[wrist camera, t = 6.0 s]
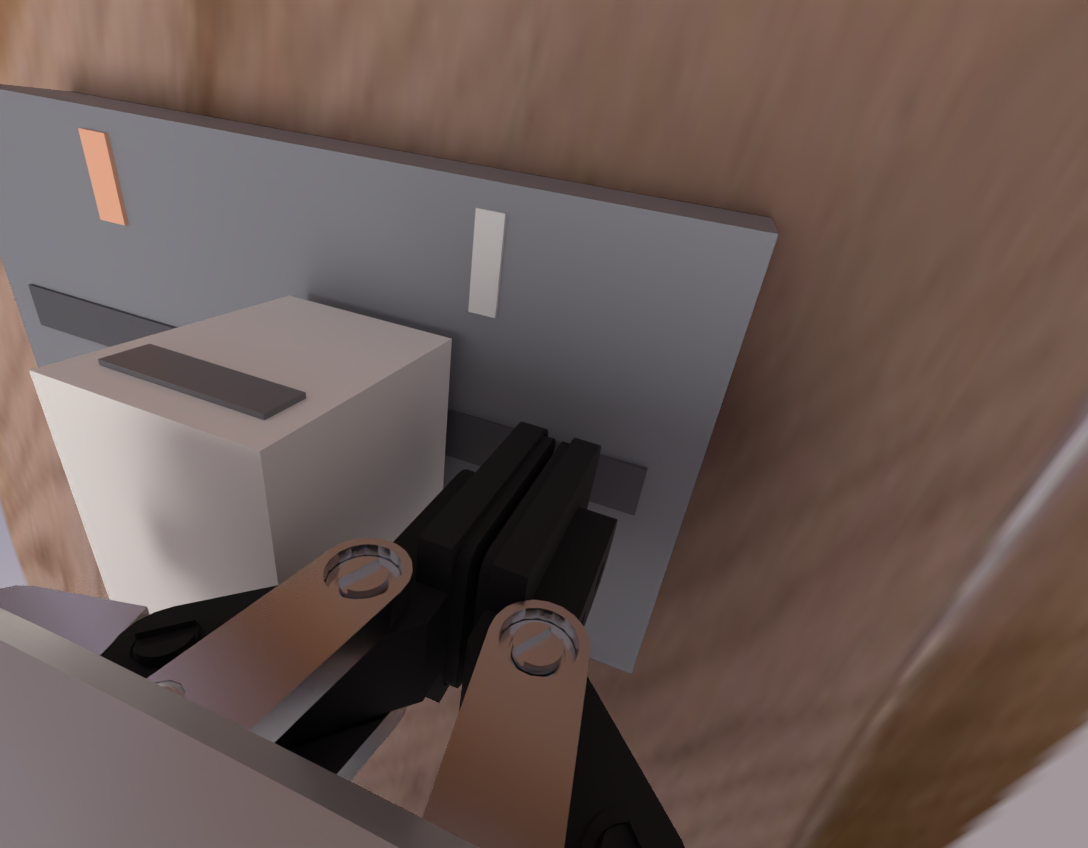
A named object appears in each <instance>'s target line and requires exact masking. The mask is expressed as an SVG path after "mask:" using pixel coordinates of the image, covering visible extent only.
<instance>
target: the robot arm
mask: <svg viewBox="0 0 1088 848" xmlns="http://www.w3.org/2000/svg"><path fill="white" fill-rule="evenodd" d="M555 443H556V440H555V439H554V438H551V437H548V429H545V428H542V427H539V426H535V425H532V424H529V423H525V422H520V423H519V424H518V425H517V426H516V427H515V429H514V430H513V431H512V432H511V433H510V434H509V435H508V436H507V438H506V439H505V440H504V441H503V442H502V443H501V444H500V445H499V446H498V448H497V449H496V450H495V451H494V452H493V453H492V454H491V455H490V457H489V458H488V459H487V460H486V461H485V462H484V463H483V464H482V466H481V467H480V468H479V469H478V470H477V471H476V472H474V471H471V470H468V469H464V470H462V471H460V472H459V473H458V474H457V475H456V476H455V477H454V478H453V479H452V480H451V481H450V482H449V483H448V484H447V486H446V487H445V488H444V489H443V490H442V491H441V492H440V493H439V494H438V495H437V496H436V497H435V498H434V499H433V500H432V501H431V502H430V503H429V505H428V506H427V507H426V508H425V509H424V510H423V511H422V512H421V513H420V514H419V515H418V516H417V517H416V518H415V519H414V520H413V521H412V523H411V524H410V525H409V526H408V527H407V528H406V529H405V530H404V531H403V532H402V533H401V534H400V535H399V536H398V537H397V538H396V539H395V540H394V542H390V541H388V540H385V539H378V538H359V539H353V540H350V541H346V542H343V543H340V544H339V545H337V546H335V547H333V548H331V549H329V550H328V551H326V552H325V553H323V554H322V555H321V556H319V557H318V558H316V559H315V560H314V561H312V562H311V563H309V564H308V565H306V566H305V567H304V568H302V569H301V570H299V571H298V572H297V573H295V574H294V575H292V576H291V577H289V578H288V579H287V580H285V581H284V582H282V583H281V584H280V585H276V586H271V587H266V588H261V589H257V590H252V591H247V592H242V593H237V594H232V595H227V596H222V597H217V598H213V599H208V600H203V601H198V602H193V603H188V604H183V605H178V606H173V607H170V608H167V609H163V610H160V611H157V612H154V613H152V614H149V611H148V607H146V606H141V605H135V604H130V603H124V602H119V601H113V600H108V599H102V598H97V597H91V596H86V595H80V594H75V593H69V592H64V591H58V590H53V589H47V588H42V587H36V586H12V587H6V588H1V589H0V848H685V847H684V845H683V842H682V840H681V838H680V836H679V835H678V833H677V831H676V829H675V828H674V826H673V824H672V823H671V821H670V819H669V817H668V816H667V814H666V812H665V810H664V809H663V807H662V805H661V803H660V802H659V800H658V798H657V796H656V795H655V793H654V791H653V790H652V788H651V786H650V784H649V783H648V781H647V779H646V777H645V776H644V774H643V772H642V770H641V769H640V767H639V765H638V763H637V762H636V760H635V758H634V757H633V755H632V753H631V751H630V750H629V748H628V746H627V744H626V743H625V741H624V739H623V737H622V736H621V734H620V732H619V730H618V729H617V727H616V725H615V723H614V722H613V720H612V718H611V717H610V715H609V713H608V711H607V710H606V708H605V706H604V704H603V703H602V701H601V699H600V697H599V696H598V694H597V692H596V690H595V689H594V687H593V685H592V684H591V682H590V680H589V678H588V677H587V674H588V666H589V659H590V640H589V637H588V635H587V633H586V630H585V628H584V626H585V623H586V621H587V618H588V615H589V612H590V610H591V607H592V604H593V601H594V598H595V596H596V593H597V590H598V587H599V584H600V581H601V578H602V575H603V572H604V569H605V565H606V562H607V559H608V555H609V552H610V548H611V544H612V541H613V537H614V533H615V530H616V526H617V521H618V520H617V519H615V518H612V517H609V516H606V515H603V514H600V513H597V512H594V511H591V510H588V509H587V507H588V503H589V499H590V495H591V490H592V486H593V482H594V477H595V473H596V469H597V464H598V460H599V456H600V451H601V445H598V444H595V443H592V442H588V441H585V440H582V439H578V438H573V440H572V441H571V443H567V442H564V441H562V442H561V443H560V445H559V446H558V448H557V449H556V451H555V452H554V450H555ZM461 684H462V691H461V700H460V709H459V714H458V717H457V720H456V723H455V726H454V728H453V731H452V734H451V737H450V740H449V743H448V745H447V748H446V751H445V754H444V757H443V760H442V762H441V765H440V768H439V771H438V774H437V777H436V779H435V782H434V785H433V788H432V791H431V794H430V796H429V799H428V802H427V805H426V808H425V811H424V813H423V816H422V818H421V817H419V816H417V815H415V814H413V813H411V812H409V811H407V810H405V809H403V808H401V807H399V806H397V805H395V804H393V803H391V802H389V801H387V800H385V799H384V798H382V797H380V796H378V795H376V794H374V793H372V792H370V791H368V790H366V789H364V788H362V787H360V786H358V785H356V784H354V783H352V782H350V781H351V780H352V779H353V777H354V776H355V775H356V774H357V773H358V771H359V770H360V769H361V768H362V767H363V765H364V764H365V763H366V762H367V761H368V759H369V758H370V757H371V756H372V755H373V754H374V752H375V751H376V750H377V749H378V748H379V746H380V745H381V744H382V743H383V742H384V740H385V739H386V738H387V737H388V736H389V734H390V733H391V732H392V731H393V730H394V728H395V727H396V726H397V725H398V723H399V722H400V720H401V718H402V717H403V715H404V714H405V710H406V707H407V706H409V705H412V704H416V703H419V702H422V701H423V700H424V698H425V697H427V698H430V699H432V700H434V701H436V702H440V700H441V699H442V697H443V695H444V694H445V692H446V690H447V688H448V687H449V685H451V686H453V687H456V688H458V687H459V686H460V685H461Z"/></svg>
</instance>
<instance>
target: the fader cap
mask: <svg viewBox="0 0 1088 848" xmlns="http://www.w3.org/2000/svg"><path fill="white" fill-rule="evenodd" d="M451 344H452V339H451V338H448V337H444V336H440V335H436V334H432V333H429V332H425V331H421V330H417V329H414V328H410V327H406V326H402V325H399V324H395V323H391V322H387V321H383V320H380V319H376V318H372V317H368V316H365V315H361V314H357V313H353V312H350V311H346V310H342V309H338V308H334V307H331V306H327V305H323V304H319V303H316V302H312V301H308V300H304V299H301V298H297V297H293V296H286V297H282V298H279V299H275V300H272V301H268V302H265V303H261V304H258V305H255V306H251V307H248V308H244V309H241V310H237V311H234V312H230V313H227V314H223V315H220V316H216V317H213V318H209V319H206V320H202V321H199V322H195V323H192V324H188V325H185V326H181V327H178V328H174V329H171V330H167V331H164V332H160V333H157V334H153V335H150V336H146V337H143V338H139V339H136V340H133V341H129V342H126V343H122V344H119V345H115V346H112V347H108V348H105V349H101V350H98V351H94V352H91V353H87V354H84V355H80V356H77V357H73V358H70V359H66V360H63V361H59V362H56V363H52V364H49V365H45V366H42V367H38V368H35V369H31V370H29V371H30V374H31V377H32V380H33V383H34V386H35V388H36V391H37V394H38V397H39V400H40V403H41V405H42V408H43V411H44V414H45V417H46V420H47V423H48V425H49V428H50V431H51V434H52V437H53V440H54V443H55V445H56V448H57V451H58V454H59V457H60V460H61V462H62V465H63V468H64V471H65V474H66V477H67V480H68V482H69V485H70V488H71V491H72V494H73V497H74V499H75V502H76V505H77V508H78V511H79V514H80V517H81V519H82V522H83V525H84V528H85V531H86V534H87V536H88V539H89V542H90V545H91V548H92V551H93V554H94V556H95V559H96V562H97V565H98V568H99V571H100V574H101V576H102V579H103V582H104V585H105V588H106V591H107V593H108V596H109V599H110V600H113V601H119V602H124V603H130V604H135V605H141V606H146V607H148V611H149V614H152V613H154V612H157V611H160V610H163V609H167V608H170V607H173V606H178V605H183V604H188V603H193V602H198V601H203V600H208V599H213V598H217V597H222V596H227V595H232V594H237V593H242V592H247V591H252V590H257V589H261V588H266V587H271V586H276V585H280V584H281V583H282V582H284V581H285V580H287V579H288V578H289V577H291V576H292V575H294V574H295V573H297V572H298V571H299V570H301V569H302V568H304V567H305V566H306V565H308V564H309V563H311V562H312V561H314V560H315V559H316V558H318V557H319V556H321V555H322V554H323V553H325V552H326V551H328V550H329V549H331V548H333V547H335V546H337V545H339V544H340V543H343V542H346V541H350V540H353V539H359V538H378V539H385V540H388V541H390V542H394V540H395V539H396V538H397V537H398V536H399V535H400V534H401V533H402V532H403V531H404V530H405V529H406V528H407V527H408V526H409V525H410V524H411V523H412V521H413V520H414V519H415V518H416V517H417V516H418V515H419V514H420V513H421V512H422V511H423V510H424V509H425V508H426V507H427V506H428V505H429V503H430V502H431V501H432V500H433V499H434V498H435V497H436V496H437V495H438V494H439V493H440V492H441V491H442V490H443V480H444V463H445V446H446V429H447V412H448V395H449V378H450V361H451Z"/></svg>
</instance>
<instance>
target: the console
mask: <svg viewBox="0 0 1088 848" xmlns="http://www.w3.org/2000/svg"><path fill="white" fill-rule="evenodd" d="M777 237H778V231H777V229H776V226H775V223H774V221H773V218H770V217H764V216H759V215H753V214H748V213H742V212H737V211H731V210H726V209H720V208H714V207H709V206H703V205H698V204H692V203H687V202H681V201H676V200H670V199H664V198H659V197H653V196H648V195H642V194H637V193H631V192H626V191H620V190H614V189H609V188H603V187H598V186H592V185H587V184H581V183H576V182H570V181H565V180H559V179H553V178H548V177H542V176H537V175H531V174H526V173H520V172H515V171H509V170H503V169H498V168H492V167H487V166H481V165H476V164H470V163H465V162H459V161H453V160H448V159H442V158H437V157H431V156H426V155H420V154H415V153H409V152H403V151H398V150H392V149H387V148H381V147H376V146H370V145H365V144H359V143H353V142H348V141H342V140H337V139H331V138H326V137H320V136H315V135H309V134H303V133H298V132H292V131H287V130H281V129H276V128H270V127H265V126H259V125H253V124H248V123H242V122H237V121H231V120H226V119H220V118H215V117H209V116H204V115H198V114H192V113H187V112H181V111H176V110H170V109H165V108H159V107H154V106H148V105H142V104H137V103H131V102H126V101H120V100H115V99H109V98H104V97H98V96H92V95H87V94H81V93H76V92H70V91H60V90H51V89H41V88H32V87H22V86H12V85H3V84H0V257H1V259H2V262H3V265H4V268H5V271H6V274H7V277H8V280H9V283H10V286H11V289H12V292H13V295H14V298H15V301H16V303H17V306H18V309H19V312H20V315H21V318H22V321H23V324H24V327H25V330H26V333H27V336H28V339H29V342H30V344H31V347H32V350H33V353H34V356H35V359H36V362H37V365H38V367H42V366H45V365H49V364H52V363H56V362H59V361H63V360H66V359H70V358H73V357H77V356H80V355H84V354H87V353H91V352H94V351H98V350H101V349H105V348H108V347H112V346H115V345H119V344H122V343H126V342H129V341H133V340H136V339H139V338H143V337H146V336H150V335H153V334H157V333H160V332H164V331H167V330H171V329H174V328H178V327H181V326H185V325H188V324H192V323H195V322H199V321H202V320H206V319H209V318H213V317H216V316H220V315H223V314H227V313H230V312H234V311H237V310H241V309H244V308H248V307H251V306H255V305H258V304H261V303H265V302H268V301H272V300H275V299H279V298H282V297H286V296H293V297H297V298H301V299H304V300H308V301H312V302H316V303H319V304H323V305H327V306H331V307H334V308H338V309H342V310H346V311H350V312H353V313H357V314H361V315H365V316H368V317H372V318H376V319H380V320H383V321H387V322H391V323H395V324H399V325H402V326H406V327H410V328H414V329H417V330H421V331H425V332H429V333H432V334H436V335H440V336H444V337H448V338H451V339H452V344H451V361H450V378H449V395H448V412H447V429H446V446H445V463H444V480H443V489H444V488H445V487H446V486H447V484H448V483H449V482H450V481H451V480H452V479H453V478H454V477H455V476H456V475H457V474H458V473H459V472H460V471H462V470H464V469H468V470H471V471H474V472H476V471H477V470H478V469H479V468H480V467H481V466H482V464H483V463H484V462H485V461H486V460H487V459H488V458H489V457H490V455H491V454H492V453H493V452H494V451H495V450H496V449H497V448H498V446H499V445H500V444H501V443H502V442H503V441H504V440H505V439H506V438H507V436H508V435H509V434H510V433H511V432H512V431H513V430H514V429H515V427H516V426H517V425H518V424H519V423H520V422H525V423H529V424H532V425H535V426H539V427H542V428H545V429H548V437H551V438H554V439H555V440H556V443H555V450H554V452H555V451H556V449H557V448H558V446H559V445H560V443H561V442H562V441H564V442H567V443H571V441H572V440H573V438H578V439H582V440H585V441H588V442H592V443H595V444H598V445H601V451H600V456H599V460H598V464H597V469H596V473H595V477H594V482H593V486H592V490H591V495H590V499H589V503H588V507H587V509H588V510H591V511H594V512H597V513H600V514H603V515H606V516H609V517H612V518H615V519H617V520H618V521H617V526H616V530H615V533H614V537H613V541H612V544H611V548H610V552H609V555H608V559H607V562H606V565H605V569H604V572H603V575H602V578H601V581H600V584H599V587H598V590H597V593H596V596H595V598H594V601H593V604H592V607H591V610H590V612H589V615H588V618H587V621H586V623H585V626H584V628H585V630H586V633H587V635H588V637H589V640H590V658H591V659H593V660H596V661H599V662H601V663H604V664H606V665H609V666H611V667H614V668H616V669H619V670H621V671H624V672H627V673H629V674H632V671H633V668H634V665H635V662H636V659H637V656H638V653H639V650H640V647H641V644H642V641H643V638H644V635H645V632H646V629H647V626H648V623H649V620H650V617H651V614H652V611H653V608H654V605H655V602H656V599H657V596H658V593H659V590H660V587H661V584H662V581H663V578H664V575H665V572H666V569H667V566H668V563H669V560H670V557H671V554H672V551H673V548H674V545H675V542H676V539H677V536H678V533H679V530H680V527H681V524H682V521H683V518H684V515H685V512H686V509H687V506H688V503H689V500H690V497H691V495H692V492H693V489H694V486H695V483H696V480H697V477H698V474H699V471H700V468H701V465H702V462H703V459H704V456H705V453H706V450H707V447H708V444H709V441H710V438H711V435H712V432H713V429H714V426H715V423H716V420H717V417H718V414H719V411H720V408H721V405H722V402H723V399H724V396H725V393H726V390H727V387H728V384H729V381H730V378H731V375H732V372H733V369H734V366H735V363H736V360H737V357H738V354H739V351H740V348H741V345H742V342H743V339H744V336H745V333H746V330H747V327H748V324H749V321H750V318H751V315H752V312H753V309H754V306H755V303H756V300H757V297H758V294H759V291H760V288H761V285H762V282H763V279H764V276H765V273H766V270H767V267H768V264H769V261H770V258H771V255H772V252H773V249H774V246H775V243H776V240H777Z"/></svg>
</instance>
